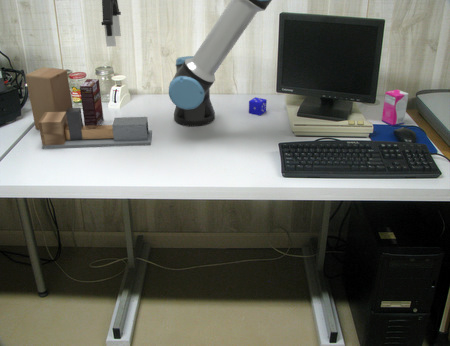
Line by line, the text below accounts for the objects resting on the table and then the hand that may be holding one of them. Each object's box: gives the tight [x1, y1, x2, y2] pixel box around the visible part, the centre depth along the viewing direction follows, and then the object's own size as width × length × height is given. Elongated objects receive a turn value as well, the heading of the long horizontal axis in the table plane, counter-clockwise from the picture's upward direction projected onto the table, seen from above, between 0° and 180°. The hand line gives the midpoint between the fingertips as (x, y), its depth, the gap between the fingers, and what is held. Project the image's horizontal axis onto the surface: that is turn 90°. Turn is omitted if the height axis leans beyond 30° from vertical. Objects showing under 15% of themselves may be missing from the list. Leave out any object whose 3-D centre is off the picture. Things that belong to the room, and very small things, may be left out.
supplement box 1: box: [79, 78, 104, 126], centre depth 177 cm, size 9×5×16 cm, turn 177°
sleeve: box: [111, 116, 150, 141], centre depth 168 cm, size 11×7×6 cm, turn 94°
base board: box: [41, 129, 153, 150], centre depth 169 cm, size 35×10×1 cm, turn 94°
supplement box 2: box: [381, 89, 409, 127], centre depth 180 cm, size 6×6×12 cm
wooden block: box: [25, 66, 74, 130], centre depth 175 cm, size 10×10×20 cm
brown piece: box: [64, 107, 114, 140], centre depth 166 cm, size 22×4×10 cm, turn 94°
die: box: [248, 97, 267, 116], centre depth 190 cm, size 5×5×5 cm
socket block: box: [38, 112, 68, 146], centre depth 166 cm, size 7×9×8 cm
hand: (114, 40), depth 160 cm, fingers open, 13 cm apart
